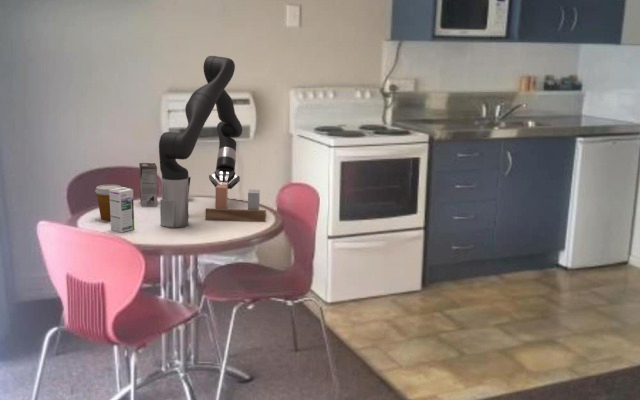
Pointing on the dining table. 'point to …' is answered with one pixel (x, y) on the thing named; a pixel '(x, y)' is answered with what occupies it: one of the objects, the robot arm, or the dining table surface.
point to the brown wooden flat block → (235, 215)
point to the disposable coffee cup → (104, 200)
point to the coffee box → (148, 184)
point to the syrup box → (121, 209)
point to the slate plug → (253, 199)
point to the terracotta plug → (221, 197)
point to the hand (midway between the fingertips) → (222, 196)
